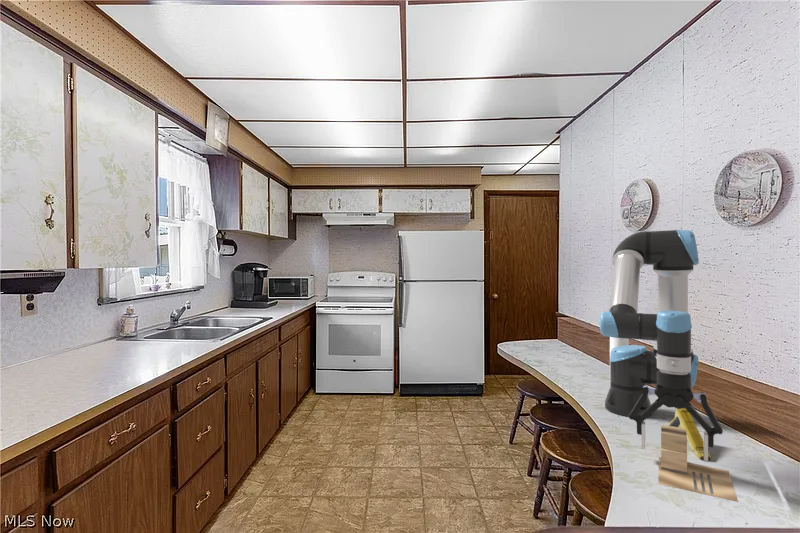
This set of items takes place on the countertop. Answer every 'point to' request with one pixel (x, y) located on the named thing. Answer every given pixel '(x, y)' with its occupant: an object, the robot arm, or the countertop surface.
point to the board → (700, 481)
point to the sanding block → (674, 449)
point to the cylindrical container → (618, 342)
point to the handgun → (690, 432)
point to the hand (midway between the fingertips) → (673, 452)
